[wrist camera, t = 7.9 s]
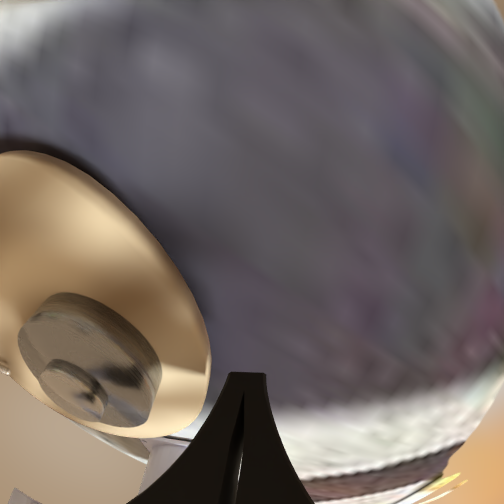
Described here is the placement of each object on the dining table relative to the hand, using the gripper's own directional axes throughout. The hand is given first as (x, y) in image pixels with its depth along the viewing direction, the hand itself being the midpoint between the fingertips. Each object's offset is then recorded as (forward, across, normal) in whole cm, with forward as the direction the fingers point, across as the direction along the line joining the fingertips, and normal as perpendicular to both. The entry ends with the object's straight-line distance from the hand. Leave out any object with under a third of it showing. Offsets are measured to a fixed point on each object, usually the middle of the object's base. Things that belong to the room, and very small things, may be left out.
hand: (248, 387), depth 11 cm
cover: (+1, +8, 0) cm, 8 cm away
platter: (+3, +12, 0) cm, 12 cm away
